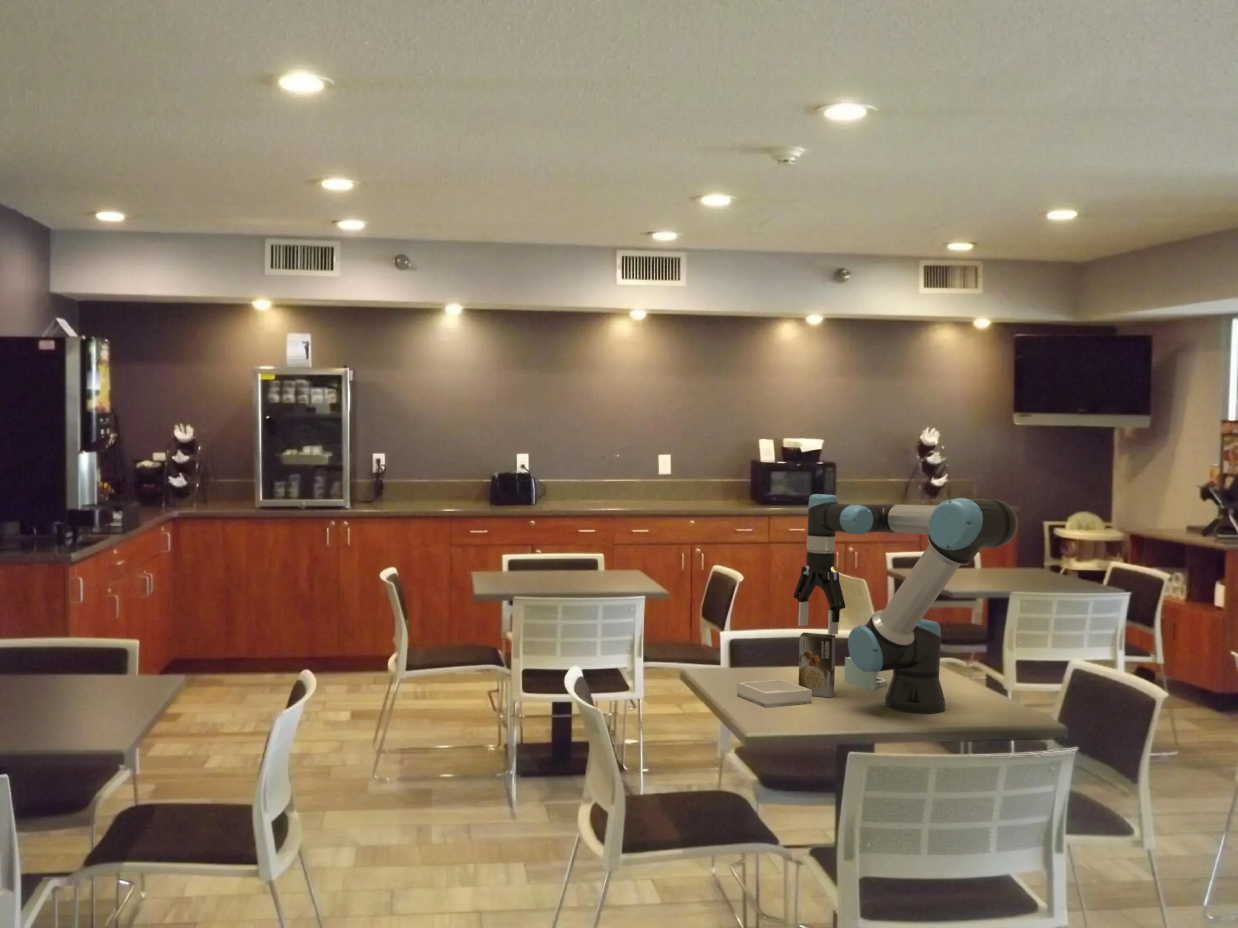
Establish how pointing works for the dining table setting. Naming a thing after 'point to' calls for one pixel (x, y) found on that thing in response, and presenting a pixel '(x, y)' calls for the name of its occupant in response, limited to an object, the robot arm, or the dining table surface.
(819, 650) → the coffee box
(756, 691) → the white square tray
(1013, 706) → the dining table surface
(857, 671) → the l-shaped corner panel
